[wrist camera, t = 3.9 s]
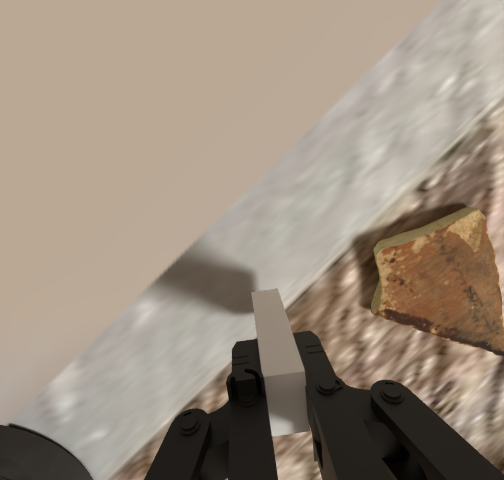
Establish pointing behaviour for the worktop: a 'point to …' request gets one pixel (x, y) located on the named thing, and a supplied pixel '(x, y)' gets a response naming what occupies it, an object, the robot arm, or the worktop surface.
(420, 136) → the worktop surface
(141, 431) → the worktop surface
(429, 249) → the shard
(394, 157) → the worktop surface
